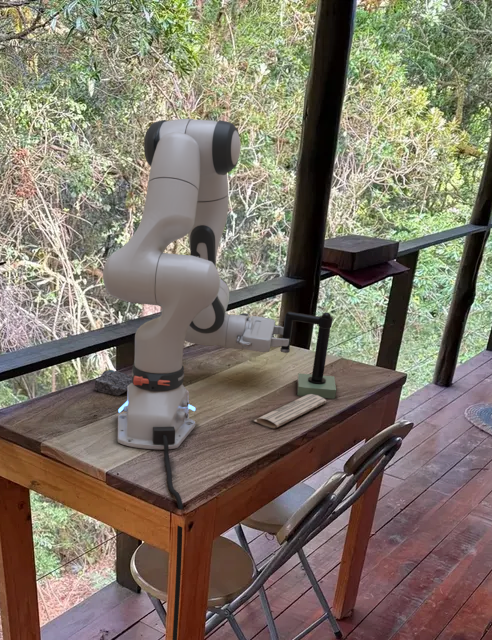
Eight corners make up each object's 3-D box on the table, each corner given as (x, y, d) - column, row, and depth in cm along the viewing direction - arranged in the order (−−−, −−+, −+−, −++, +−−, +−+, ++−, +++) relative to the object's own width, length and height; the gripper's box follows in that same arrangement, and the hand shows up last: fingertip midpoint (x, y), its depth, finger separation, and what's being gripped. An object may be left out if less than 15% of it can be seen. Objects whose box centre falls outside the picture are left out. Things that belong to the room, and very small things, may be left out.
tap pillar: (325, 385, 201) (334, 330, 194) (308, 383, 202) (315, 329, 194) (325, 379, 205) (333, 325, 198) (307, 377, 206) (315, 324, 198)
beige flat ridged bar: (276, 429, 180) (277, 422, 179) (252, 421, 184) (253, 414, 183) (326, 404, 196) (327, 398, 195) (302, 397, 200) (303, 391, 199)
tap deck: (334, 398, 200) (336, 390, 199) (297, 395, 201) (298, 386, 199) (332, 384, 209) (334, 376, 208) (297, 381, 210) (298, 373, 209)
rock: (123, 398, 193) (123, 383, 191) (91, 390, 197) (91, 374, 195) (140, 390, 198) (140, 375, 196) (108, 382, 203) (108, 367, 200)
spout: (328, 357, 201) (335, 312, 195) (324, 360, 198) (331, 315, 192) (282, 349, 206) (288, 304, 199) (278, 352, 203) (283, 307, 197)
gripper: (235, 331, 193) (289, 336, 191) (243, 311, 210) (293, 316, 208) (233, 355, 196) (286, 360, 194) (241, 333, 213) (290, 338, 212)
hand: (289, 337), depth 201 cm, fingers open, 8 cm apart
